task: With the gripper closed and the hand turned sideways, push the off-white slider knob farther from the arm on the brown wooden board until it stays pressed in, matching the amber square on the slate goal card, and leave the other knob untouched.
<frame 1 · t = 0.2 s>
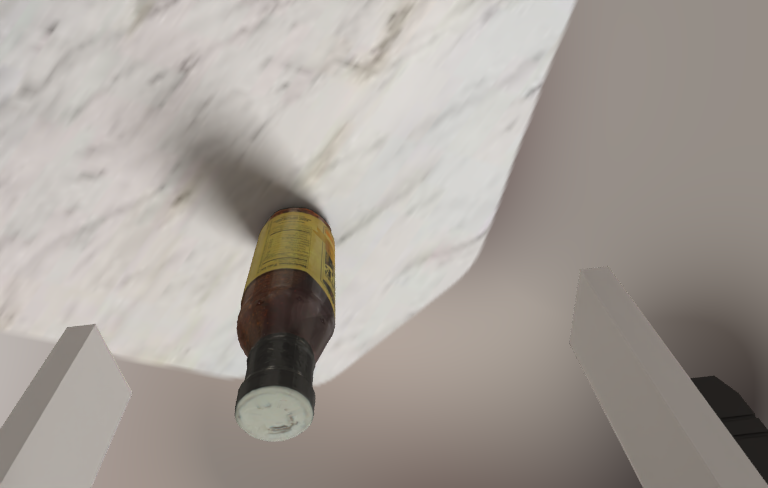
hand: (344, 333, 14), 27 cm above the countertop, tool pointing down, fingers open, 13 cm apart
sauce bottle: (298, 232, 44), on the countertop
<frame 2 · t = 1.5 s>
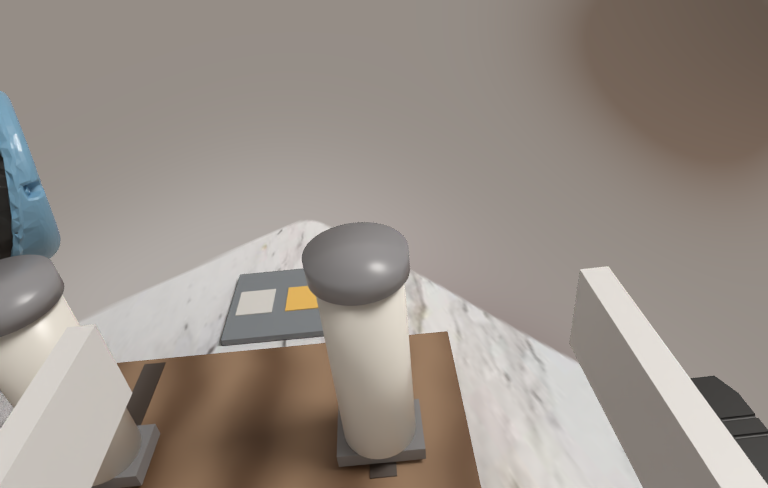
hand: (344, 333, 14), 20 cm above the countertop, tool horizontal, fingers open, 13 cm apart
goal card: (281, 305, 47), on the countertop
brown wooden board: (259, 437, 36), on the countertop
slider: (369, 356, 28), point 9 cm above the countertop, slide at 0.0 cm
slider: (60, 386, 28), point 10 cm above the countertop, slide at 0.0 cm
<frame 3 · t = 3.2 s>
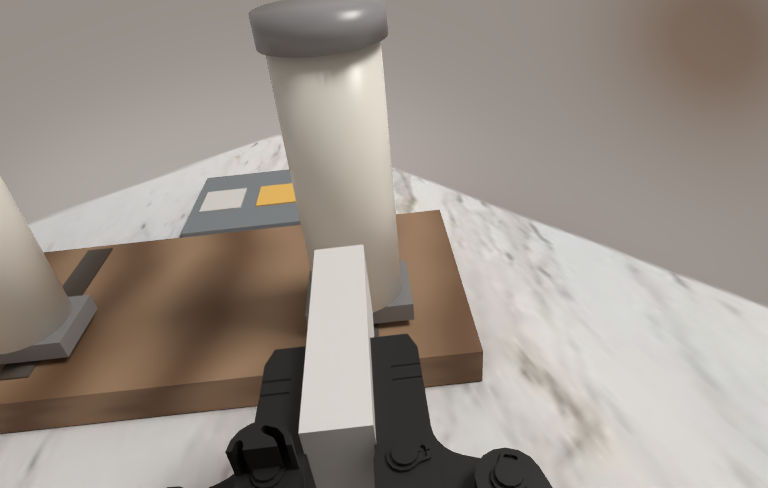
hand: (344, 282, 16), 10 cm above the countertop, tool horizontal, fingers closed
goal card: (253, 204, 42), on the countertop
brown wooden board: (219, 320, 30), on the countertop
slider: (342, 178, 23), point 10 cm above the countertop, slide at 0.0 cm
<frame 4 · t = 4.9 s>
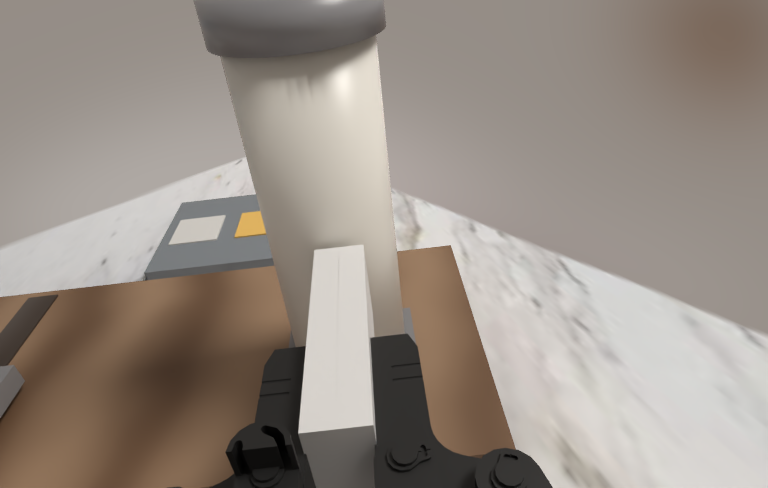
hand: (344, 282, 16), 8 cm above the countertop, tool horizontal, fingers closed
goal card: (232, 234, 36), on the countertop
brown wooden board: (181, 389, 24), on the countertop
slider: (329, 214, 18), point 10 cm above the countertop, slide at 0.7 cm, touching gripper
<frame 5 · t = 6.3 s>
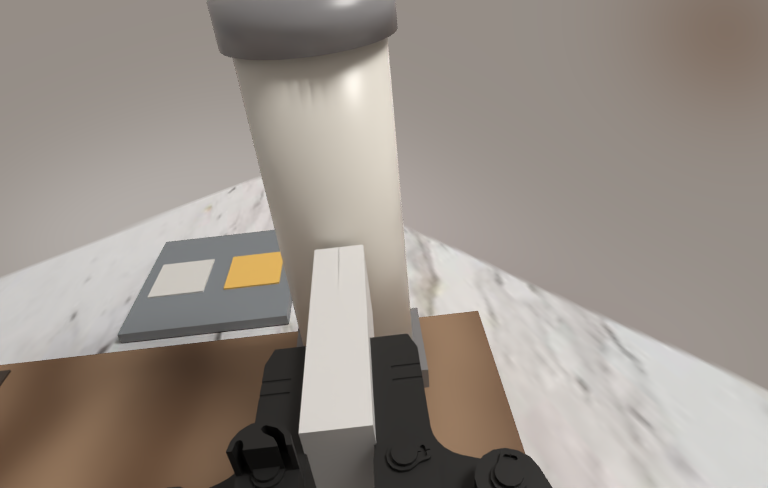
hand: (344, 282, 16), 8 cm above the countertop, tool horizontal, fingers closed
goal card: (221, 282, 31), on the countertop
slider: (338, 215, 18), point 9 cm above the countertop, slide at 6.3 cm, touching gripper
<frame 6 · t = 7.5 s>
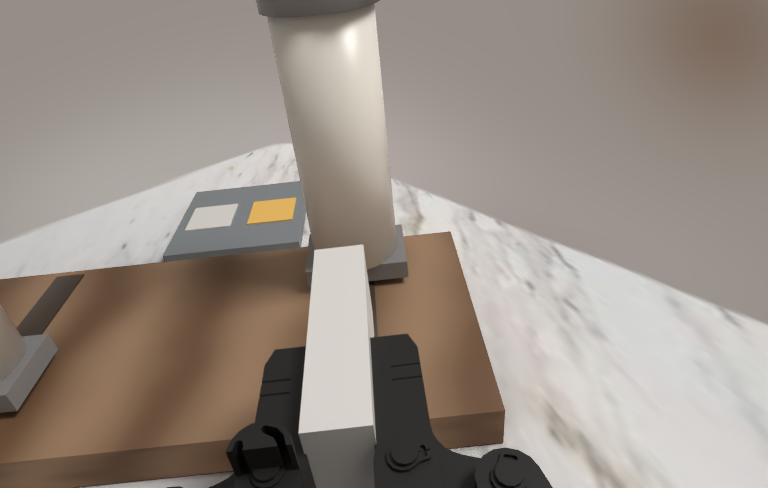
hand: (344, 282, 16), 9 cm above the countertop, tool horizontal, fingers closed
goal card: (244, 221, 38), on the countertop
brown wooden board: (199, 360, 26), on the countertop
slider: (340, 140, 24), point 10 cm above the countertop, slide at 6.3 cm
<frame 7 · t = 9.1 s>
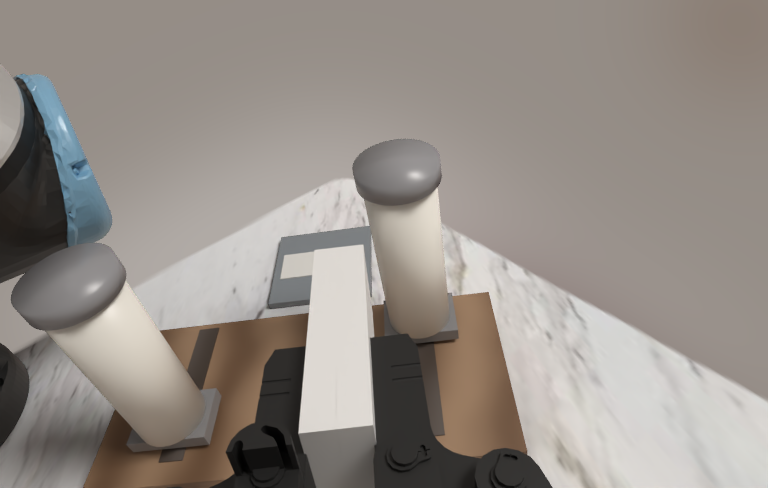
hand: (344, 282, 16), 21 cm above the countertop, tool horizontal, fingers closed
goal card: (323, 267, 48), on the countertop
brown wooden board: (312, 397, 38), on the countertop
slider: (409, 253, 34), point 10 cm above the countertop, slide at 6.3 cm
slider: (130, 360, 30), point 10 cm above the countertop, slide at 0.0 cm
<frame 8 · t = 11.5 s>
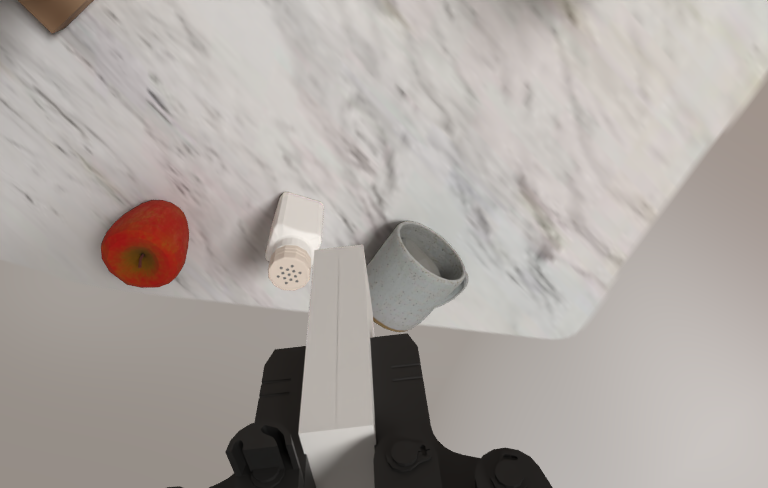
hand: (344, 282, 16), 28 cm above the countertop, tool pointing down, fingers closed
apple: (164, 216, 47), on the countertop
ceramic mug: (416, 258, 51), on the countertop
salt shaker: (298, 211, 47), on the countertop
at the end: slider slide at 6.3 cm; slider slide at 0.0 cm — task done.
